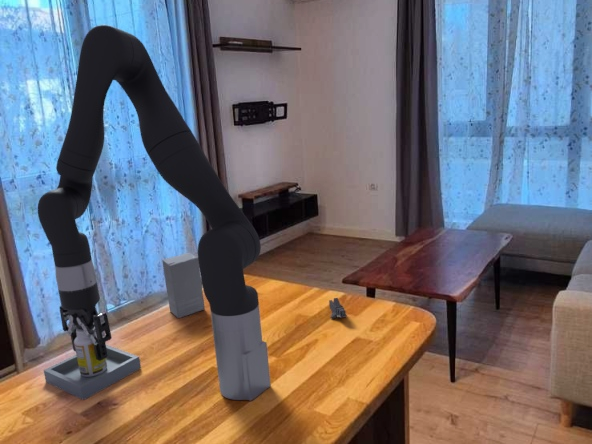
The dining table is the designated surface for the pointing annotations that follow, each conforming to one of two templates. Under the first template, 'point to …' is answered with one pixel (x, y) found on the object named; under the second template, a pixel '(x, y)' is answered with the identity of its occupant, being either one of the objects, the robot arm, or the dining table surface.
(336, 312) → the animal figurine
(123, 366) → the slate tray
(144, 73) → the robot arm
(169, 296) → the skincare box
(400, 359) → the dining table surface
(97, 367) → the supplement bottle
